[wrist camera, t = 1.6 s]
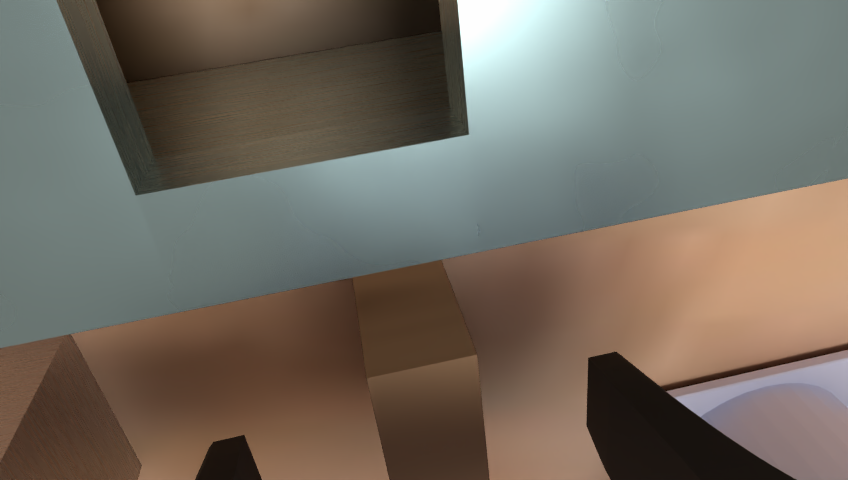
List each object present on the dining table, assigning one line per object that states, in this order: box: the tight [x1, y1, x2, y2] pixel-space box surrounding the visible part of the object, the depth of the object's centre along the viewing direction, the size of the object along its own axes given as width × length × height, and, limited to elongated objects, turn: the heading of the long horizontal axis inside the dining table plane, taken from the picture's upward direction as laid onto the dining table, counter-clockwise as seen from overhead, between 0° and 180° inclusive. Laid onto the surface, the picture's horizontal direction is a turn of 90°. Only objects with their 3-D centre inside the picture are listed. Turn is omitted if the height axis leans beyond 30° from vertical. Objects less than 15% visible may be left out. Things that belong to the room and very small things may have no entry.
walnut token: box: [352, 260, 489, 480], centre depth 14 cm, size 5×2×5 cm, turn 7°
